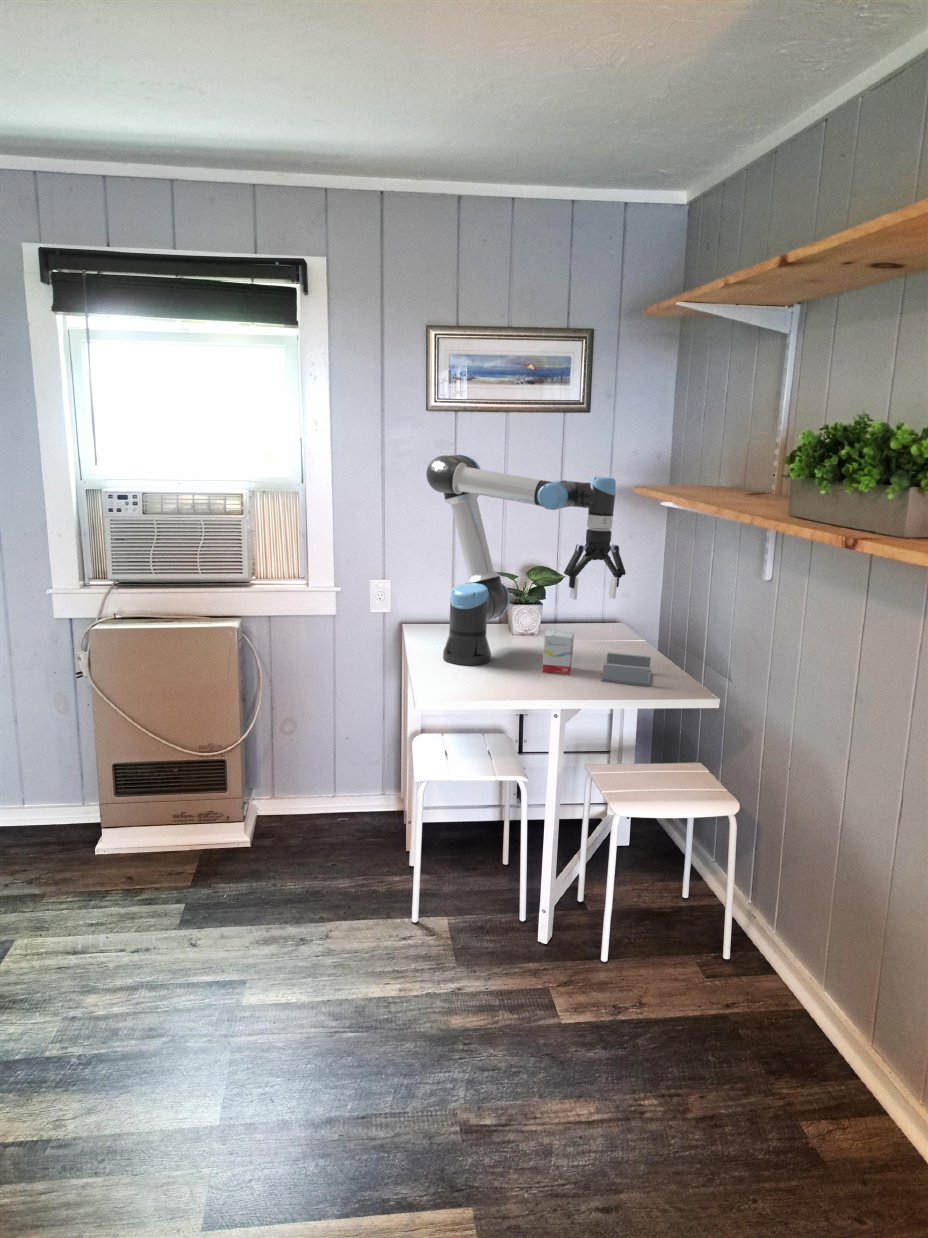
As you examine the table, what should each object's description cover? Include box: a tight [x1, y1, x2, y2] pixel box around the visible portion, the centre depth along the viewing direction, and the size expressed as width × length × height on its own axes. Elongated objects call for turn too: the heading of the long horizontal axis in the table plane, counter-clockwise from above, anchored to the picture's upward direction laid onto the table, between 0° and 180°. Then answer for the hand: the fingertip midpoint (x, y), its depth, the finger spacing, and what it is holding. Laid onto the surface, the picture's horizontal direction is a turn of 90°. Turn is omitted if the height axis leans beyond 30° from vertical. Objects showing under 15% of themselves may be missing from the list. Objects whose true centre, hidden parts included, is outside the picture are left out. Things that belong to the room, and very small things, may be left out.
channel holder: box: [600, 652, 652, 687], centre depth 252 cm, size 14×15×5 cm
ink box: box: [541, 629, 575, 676], centre depth 256 cm, size 9×9×12 cm
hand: (592, 598), depth 258 cm, fingers open, 13 cm apart
